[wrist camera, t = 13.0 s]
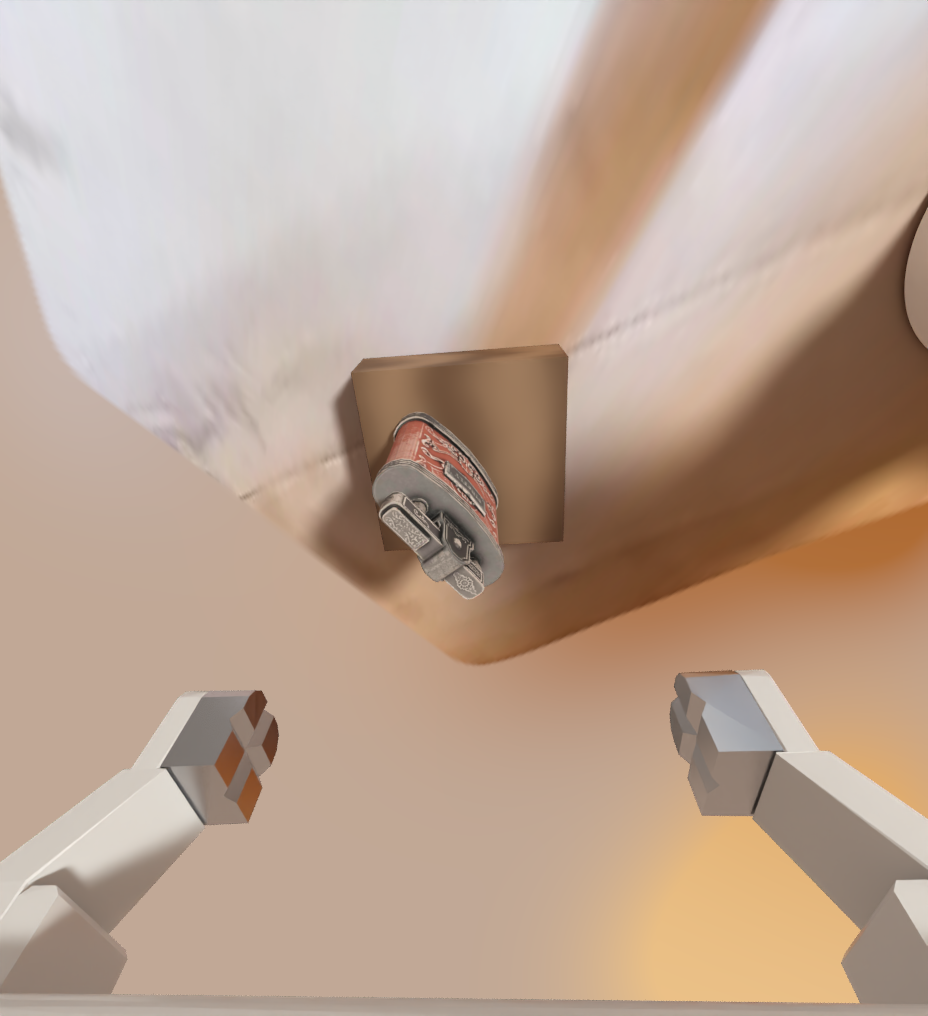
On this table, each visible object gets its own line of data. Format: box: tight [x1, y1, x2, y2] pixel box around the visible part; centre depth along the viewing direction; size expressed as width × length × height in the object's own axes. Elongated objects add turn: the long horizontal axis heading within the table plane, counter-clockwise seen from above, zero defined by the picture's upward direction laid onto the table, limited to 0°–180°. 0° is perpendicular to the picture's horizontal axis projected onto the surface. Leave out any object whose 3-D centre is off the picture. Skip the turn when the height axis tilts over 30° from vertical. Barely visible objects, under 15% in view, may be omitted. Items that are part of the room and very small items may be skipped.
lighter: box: [372, 412, 504, 599], centre depth 25 cm, size 8×3×10 cm, turn 40°
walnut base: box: [351, 344, 568, 551], centre depth 31 cm, size 12×12×4 cm
